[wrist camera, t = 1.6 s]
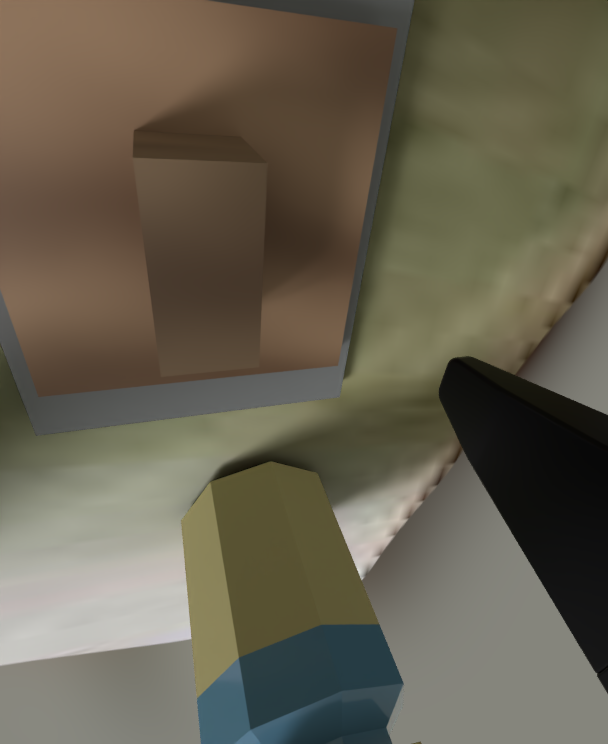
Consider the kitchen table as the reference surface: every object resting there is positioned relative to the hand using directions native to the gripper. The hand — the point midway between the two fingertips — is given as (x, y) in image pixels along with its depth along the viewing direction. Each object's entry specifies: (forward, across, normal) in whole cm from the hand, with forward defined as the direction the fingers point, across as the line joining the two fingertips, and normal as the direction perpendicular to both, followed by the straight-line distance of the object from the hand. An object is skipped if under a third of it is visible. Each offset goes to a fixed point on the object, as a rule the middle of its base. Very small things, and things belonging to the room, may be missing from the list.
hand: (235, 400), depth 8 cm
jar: (+11, -3, +18) cm, 21 cm away
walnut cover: (+10, 0, 0) cm, 10 cm away
